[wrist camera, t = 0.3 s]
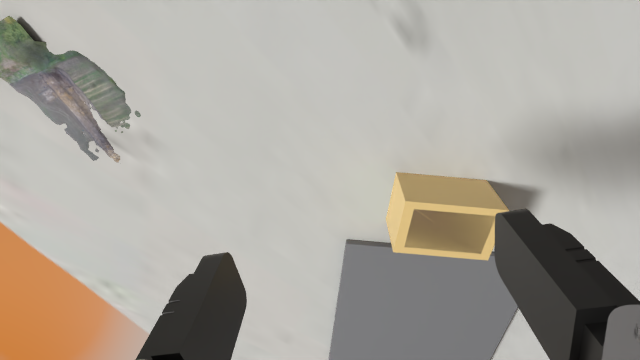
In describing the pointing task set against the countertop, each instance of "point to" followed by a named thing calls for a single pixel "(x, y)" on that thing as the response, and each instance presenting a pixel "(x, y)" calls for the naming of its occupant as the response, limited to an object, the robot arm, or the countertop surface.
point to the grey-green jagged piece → (63, 86)
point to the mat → (417, 306)
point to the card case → (443, 216)
